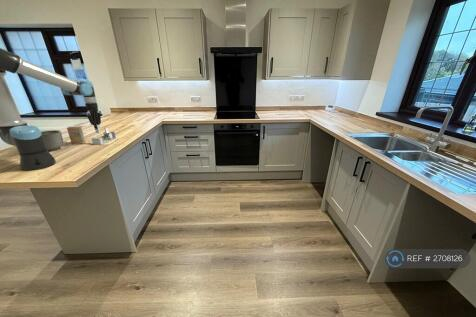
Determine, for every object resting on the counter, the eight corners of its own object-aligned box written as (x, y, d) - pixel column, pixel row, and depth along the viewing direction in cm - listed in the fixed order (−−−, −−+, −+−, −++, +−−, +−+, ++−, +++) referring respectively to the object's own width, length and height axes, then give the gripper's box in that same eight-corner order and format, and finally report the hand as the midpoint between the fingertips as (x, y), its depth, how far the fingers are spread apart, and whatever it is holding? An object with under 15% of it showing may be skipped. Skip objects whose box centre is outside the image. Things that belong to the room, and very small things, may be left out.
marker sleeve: (110, 138, 165) (107, 128, 162) (104, 138, 166) (101, 128, 162) (112, 137, 168) (110, 127, 165) (107, 137, 169) (104, 127, 165)
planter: (36, 151, 140) (29, 133, 135) (59, 145, 152) (53, 129, 147) (48, 153, 135) (41, 135, 130) (70, 147, 147) (65, 131, 142)
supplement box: (71, 143, 156) (66, 127, 152) (74, 142, 161) (69, 126, 156) (83, 143, 159) (78, 127, 154) (85, 141, 163) (81, 126, 158)
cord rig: (101, 144, 155) (99, 137, 152) (92, 144, 155) (90, 137, 153) (117, 138, 173) (116, 131, 170) (109, 137, 173) (107, 131, 171)
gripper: (88, 103, 141) (96, 135, 150) (101, 102, 153) (108, 131, 162) (79, 103, 142) (87, 134, 150) (93, 101, 154) (100, 130, 162)
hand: (98, 132), depth 156 cm, fingers closed
